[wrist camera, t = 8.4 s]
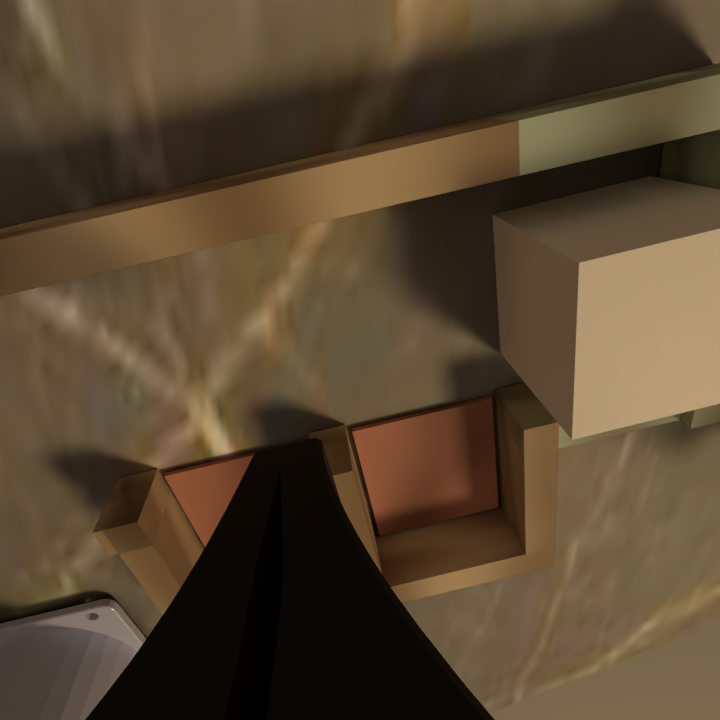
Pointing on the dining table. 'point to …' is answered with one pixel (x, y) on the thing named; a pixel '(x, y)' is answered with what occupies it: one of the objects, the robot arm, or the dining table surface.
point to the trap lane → (407, 433)
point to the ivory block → (613, 302)
